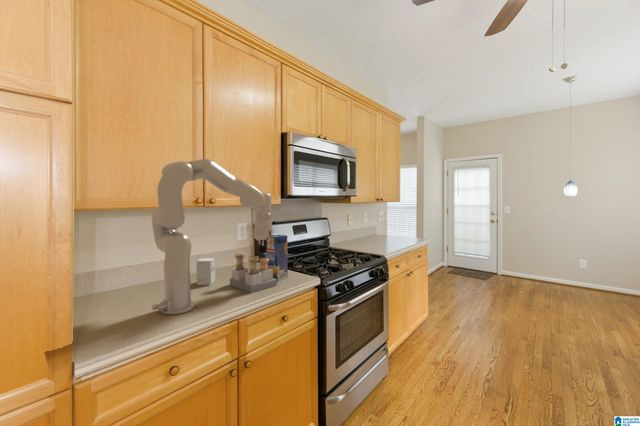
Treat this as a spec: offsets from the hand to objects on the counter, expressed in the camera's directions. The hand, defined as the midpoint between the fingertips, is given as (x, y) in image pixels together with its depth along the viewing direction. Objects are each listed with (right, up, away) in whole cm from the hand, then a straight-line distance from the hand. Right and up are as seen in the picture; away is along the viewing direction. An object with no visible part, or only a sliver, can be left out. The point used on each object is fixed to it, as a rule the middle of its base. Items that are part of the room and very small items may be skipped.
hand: (263, 252), depth 148 cm
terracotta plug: (0, -12, +1) cm, 12 cm away
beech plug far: (-12, -9, +2) cm, 15 cm away
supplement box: (-31, -17, +4) cm, 35 cm away
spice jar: (-3, -10, -6) cm, 12 cm away
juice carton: (+4, -16, +14) cm, 22 cm away
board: (-5, -17, +1) cm, 18 cm away
